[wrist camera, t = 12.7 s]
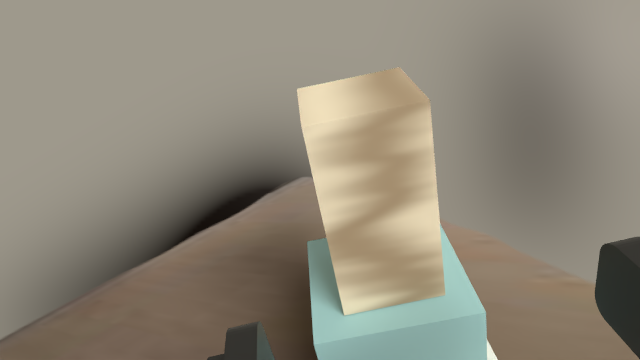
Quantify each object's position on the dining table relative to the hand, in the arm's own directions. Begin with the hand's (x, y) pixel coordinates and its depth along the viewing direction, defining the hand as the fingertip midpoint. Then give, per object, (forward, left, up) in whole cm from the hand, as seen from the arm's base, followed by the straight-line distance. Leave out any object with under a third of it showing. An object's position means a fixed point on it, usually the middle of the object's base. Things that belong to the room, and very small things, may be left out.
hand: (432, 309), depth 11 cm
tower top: (-10, +6, -12) cm, 17 cm away
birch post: (-9, +6, -8) cm, 14 cm away
